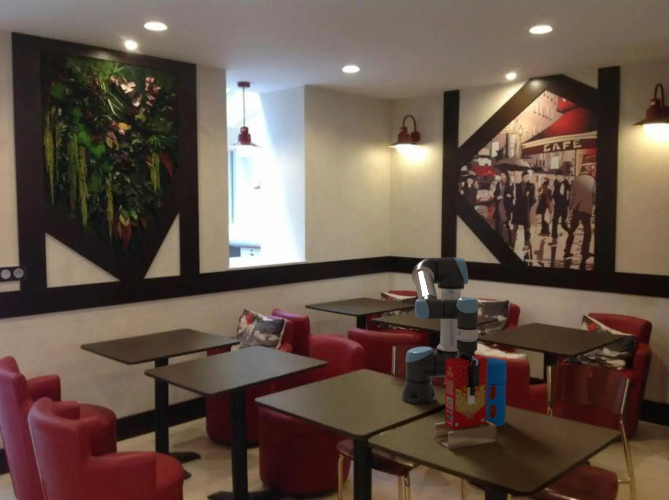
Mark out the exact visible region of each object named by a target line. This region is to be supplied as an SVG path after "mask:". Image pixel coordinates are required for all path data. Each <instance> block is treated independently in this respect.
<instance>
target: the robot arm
mask: <svg viewBox="0 0 669 500" xmlns="http://www.w3.org/2000/svg"><path fill="white" fill-rule="evenodd" d="M411 280H412V283H413V284H414V285H415V288H416V293H417V294H416V295H417V299H416V300H415V301H414V314H415V318H417V319H423V320H429V319H430V320H438V319H439V320H440V334H439V335H440V336H439V337H440V341H439V344H438V345H437V346H436V350H433V348H432V347H430V346H417V347H413V348H410V349H408V350H407V352H406V354H405V384H404V386H403V389H402V391H401V400H402V401H404V402H406V403H409V404H416V405H425V404H431V403H434V402H435V401H436V393H435V388H434V387H433V384H432V383H433V382H432V378H446V359H448V358H457V357H459V358H463V359H464V360H468V362H469V364H472V366H468V367H467V368H468V383H469V386H467V404H475V387H476V386H479V365H480V360H477V359H476V358H475V355H476V353H475V352H477V351H478V341H477V340H478V339H479V338H478V337H479V335H478V333H479V330H478V329H479V328H478V325H479V323H478V321H479V320H478V319H479V317H478V316H479V300H478V299H477V298H475V297H468V296H467V297H466V296H464V297H462V296H461V294H462V293H461V292H462V291H463V290H464V289H465V285H468V284H469V273H468V267H467V263H466V260H465V259H464V258H461V257H427V258H424V259H422V260H420V261H419V262H417V264H416V265H415V266H414V267H413V269H412V272H411ZM435 284H437V288H438V290H439V291H440V299H438V296H437V291H436V287H435Z"/></svg>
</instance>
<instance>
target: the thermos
mask: <svg viewBox="0 0 669 500" xmlns="http://www.w3.org/2000/svg"><path fill="white" fill-rule="evenodd" d="M486 358H487V395H486V420H487V421H489V422H491V423H493V424H495V425H496V426H497V427H502V426H505V424H506V409H507V406H506V405H507V404H506V403H507V401H506V400H507V361H506V360H503V359H500V358H489V357H486Z"/></svg>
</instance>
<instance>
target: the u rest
mask: <svg viewBox="0 0 669 500" xmlns="http://www.w3.org/2000/svg"><path fill="white" fill-rule="evenodd" d="M497 434H498V426H496V425H495V424H493V423H491V422H489V421H487V420H486V424H482V425H477V426H471V427H466V428H460V429H455V430H453V429H451V428H450V427H448V426H446V425H445V421H442V422H435V423H434V439H433V440H435V441H437V443H439V444H441V445H442V446H444V447H446V448H447V449H448V450H453V449H459V448H465V447H471V446H480V445H485V444H490V443H495V442H496V443H497V441H498V438H497V437H498V435H497Z"/></svg>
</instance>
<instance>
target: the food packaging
mask: <svg viewBox="0 0 669 500" xmlns="http://www.w3.org/2000/svg"><path fill="white" fill-rule="evenodd" d="M475 358H476V359H477V360H480V365H479V386H476V387H475V404H467V386H469V383H468V368H467V367H468V366H472V364H469V362H468V360H464V359H463V358H459V357H457V358H448V359H446V377H445V393H444V395H445V399H444V401H445V402H444V405H445V409H444V410H445V411H444V422H445V425H446V426H448V427H450V428H451V429H453V430H455V429H460V428H466V427H471V426H477V425H482V424H486V395H487V358H488V357H486V356H483V355H481V354H475Z"/></svg>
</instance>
